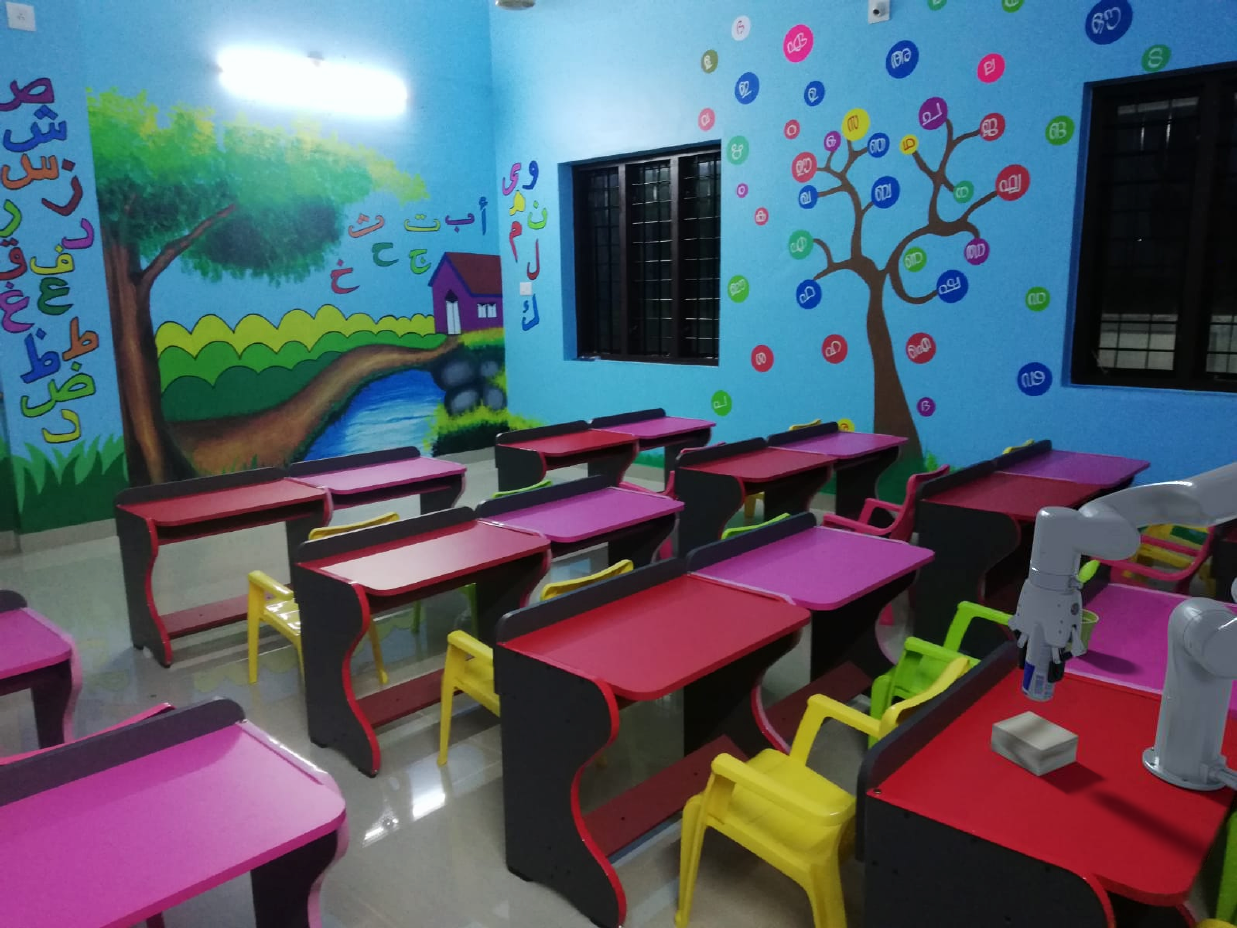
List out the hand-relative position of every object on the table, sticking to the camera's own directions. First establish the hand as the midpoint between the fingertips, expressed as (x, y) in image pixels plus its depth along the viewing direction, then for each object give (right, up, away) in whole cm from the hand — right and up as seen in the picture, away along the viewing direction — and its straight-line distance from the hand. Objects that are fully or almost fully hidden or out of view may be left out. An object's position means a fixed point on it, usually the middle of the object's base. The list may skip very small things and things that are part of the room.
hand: (1039, 673), depth 155 cm
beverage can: (0, -4, +1) cm, 5 cm away
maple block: (0, -16, +4) cm, 16 cm away
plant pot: (+30, -6, +47) cm, 56 cm away
